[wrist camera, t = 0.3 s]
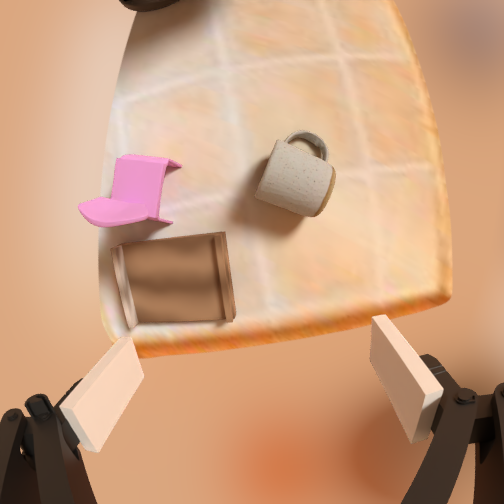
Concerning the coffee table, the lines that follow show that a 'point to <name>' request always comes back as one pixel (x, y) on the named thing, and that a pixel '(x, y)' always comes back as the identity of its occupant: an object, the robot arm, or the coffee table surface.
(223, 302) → the shelf board
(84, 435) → the robot arm
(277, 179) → the ceramic mug
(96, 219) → the toy chair
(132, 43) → the coffee table surface
